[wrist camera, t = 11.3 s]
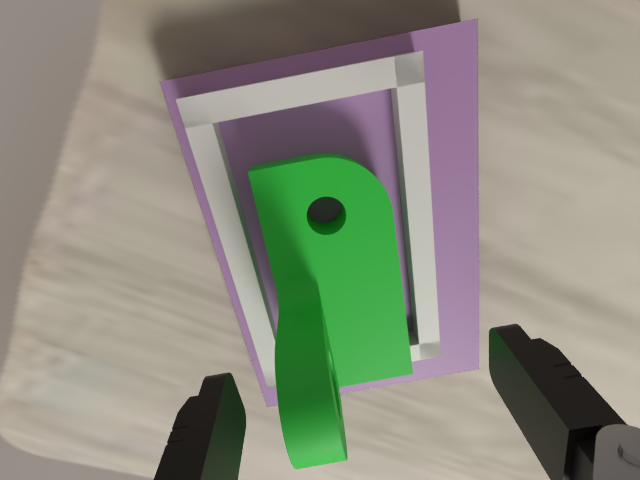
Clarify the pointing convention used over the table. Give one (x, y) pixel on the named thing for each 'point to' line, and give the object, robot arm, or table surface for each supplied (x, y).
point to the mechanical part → (329, 295)
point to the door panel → (366, 148)
